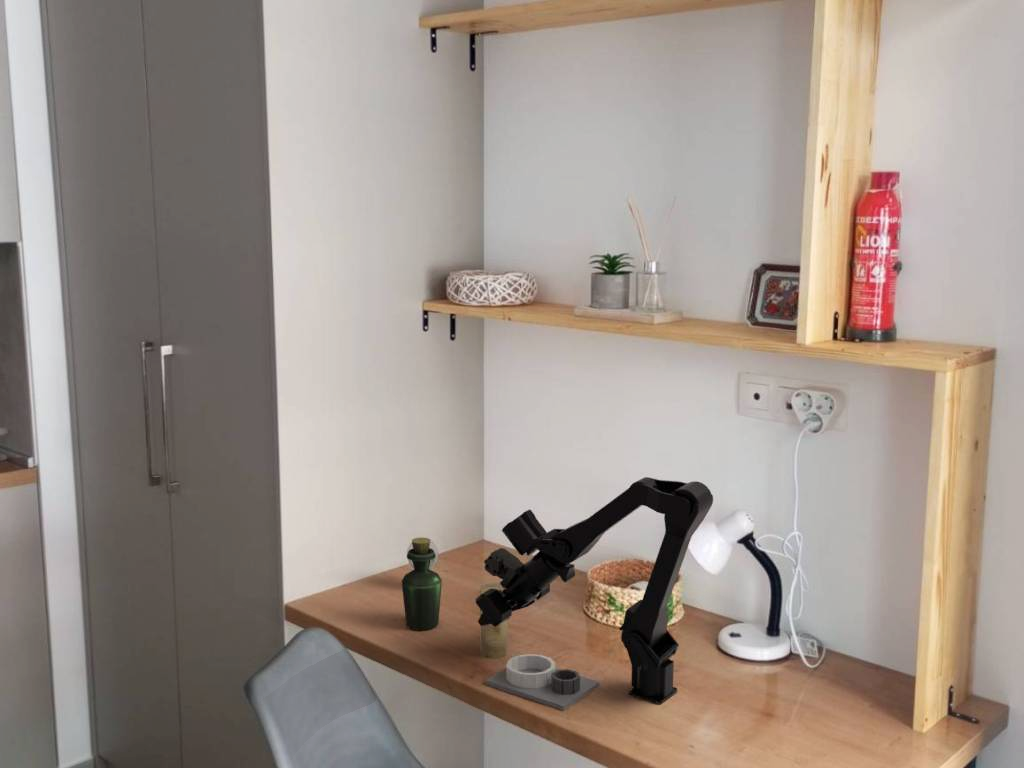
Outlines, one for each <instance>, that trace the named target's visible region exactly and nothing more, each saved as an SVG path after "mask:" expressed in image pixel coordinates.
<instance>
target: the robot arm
mask: <svg viewBox="0 0 1024 768" xmlns="http://www.w3.org/2000/svg"><path fill="white" fill-rule="evenodd" d="M713 502H714V495H713V494H712V492H711V490H710V488H709V487H708V486H707V485H706V484H704V482H703V483H702V482H700V481H696V480H695V481H690V482H683V481H679V480H677V481H676V480H662V479H658V478H657V479H656V478H652V477H648V476H646V477H643V478H641V479H638V480H636V481H635V482H633V483H632V484H631V485H630V486H629V488H627V489H626V490H624V491H623V492H622V493H620V494H619V495H617V496H616V497H615V498H613V499H612V500H611V501H610V502H608V503H607V504H605V505H604V506H603V507H601V508H600V509H598V510H597V511H596V512H595V513H593V514H592V515H590V516H589V517H588V518H586V519H584V520H581V521H579V522H576V523H575V524H573V525H570V526H568V527H567V528H553V529H551V530H550V531H546V529H545V528H544V527H543V525H542V524H541V523H540V521H539V520H538V519H537V516H535V513H534V512H533V511H532V510H531V509H528V510H525V511H524V512H523V513H521V514H520V515H519V516H517V517H516V518H514V519H513V520H512V521H509V522H508V523H507V524H506V525H505V526H504V527H503V528H502V529H501V531H502V533H503V535H505V537H506V538H507V540H508V541H509V542H510V544H511V545H512V546H513V548H514V549H515V551H517V553H518V554H519V555H521V556H522V557H523V556H524V555H525V554H526V555H527V557H528V556H530V555H533V554H534V553H536V551H538V552H537V553H536V554H534V555H533V557H532V558H530V559H529V560H528V561H526V562H525V563H524V562H523V561H521V559H519V558H518V557H517V556H516V555H514V554H513V553H512V552H510V551H509V550H507V549H506V548H502V547H500V548H497V549H496V550H494V551H493V552H491V553H490V554H489V555H488V557H487V558H486V559H484V564H485V565H484V569H485V570H484V571H486V572H487V573H488V574H490V575H491V576H493V577H498V578H499V579H501V581H500V582H499V584H501V585H502V587H503V588H506V589H504V590H503V591H502V594H503V595H504V597H502V595H501V594H500V593H499V591H498V590H497V589H492V588H491V589H489V590H487V591H486V592H484V593H482V594H481V595H480V594H479V595H478V596H477V597H476V598H475V605H476V606H477V607H478V608H479V609H481V611H482V612H483V613H482V614H481V616H480V615H479V618H478V621H477V623H478V624H479V626H480V625H481V626H483V625H488V624H492V625H493V626H495V627H496V626H498V625H500V624H501V623H503V622H504V621H506V620H507V619H508V620H509V619H510V617H512V613H513V612H515V611H519V610H521V609H524V608H528V607H530V606H532V605H533V604H534V603H535V602H536V601H540V600H541V599H543V598H544V597H545V596H547V595H548V594H549V593H550V591H551V583H553V582H554V581H555V580H556V579H557V578H558V577H560V579H561V580H562V581H563V582H564V583H566V582H568V581H570V580H572V579H573V578H575V577H576V572H575V564H573V562H574V561H577V560H578V559H580V558H581V557H583V556H585V555H587V554H588V553H589V552H590V551H591V550H592V549H593V548H594V547H595V545H597V543H598V542H599V541H600V539H601V538H602V536H603V535H604V534H605V533H607V531H609V530H610V529H611V528H614V527H615V525H617V524H619V523H620V522H622V521H623V520H624V519H625V518H627V517H629V516H630V515H631V514H633V513H634V512H635V511H636V510H638V509H639V508H640V507H642V506H644V507H647V508H649V510H650V509H651V510H653V511H655V512H656V513H659V514H662V515H664V516H663V517H664V518H663V519H664V528H665V532H664V536H663V538H662V542H661V545H660V547H659V550H658V553H657V557H656V559H655V561H654V566H653V567H652V570H651V573H650V576H649V579H648V582H647V585H646V589H645V590H644V592H643V593H644V594H643V597H642V599H639V600H638V601H636V602H635V603H634V604H632V605H631V606H630V607H628V608H627V609H626V610H625V614H624V619H623V623H622V624H621V626H620V627H619V631H622V632H621V633H620V634H621V635H620V641H621V642H622V644H623V646H624V647H625V649H626V651H627V655H628V658H629V661H630V664H631V678H630V679H631V681H630V684H631V687H632V688H631V689H630V690H628V695H629V696H633V697H636V698H639V699H643V700H646V701H649V702H653V703H655V704H659V705H660V704H662V703H664V702H665V701H666V700H667V699H670V698H671V696H673V695H674V694H676V693H677V692H678V687H676V686H674V665H675V664H674V663H675V662H674V660H671V659H670V658H672V656H675V655H676V654H677V650H678V649H679V643H678V642H677V640H676V639H675V638H674V637H673V636H672V634H671V633H670V631H668V622H669V612H668V604H669V602H670V599H671V595H672V593H673V590H674V587H675V584H676V582H677V579H678V576H679V574H680V570H681V567H682V565H683V562H684V560H685V556H686V553H687V550H688V548H689V545H690V542H691V539H692V537H693V535H694V534H695V532H696V531H697V530H698V529H699V527H700V525H701V524H702V522H703V521H704V520H705V518H706V517H707V515H708V513H709V511H710V510H711V507H712V505H713ZM538 594H539V595H538ZM505 595H506V596H505ZM537 595H538V596H537ZM507 602H508V603H507Z"/></svg>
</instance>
